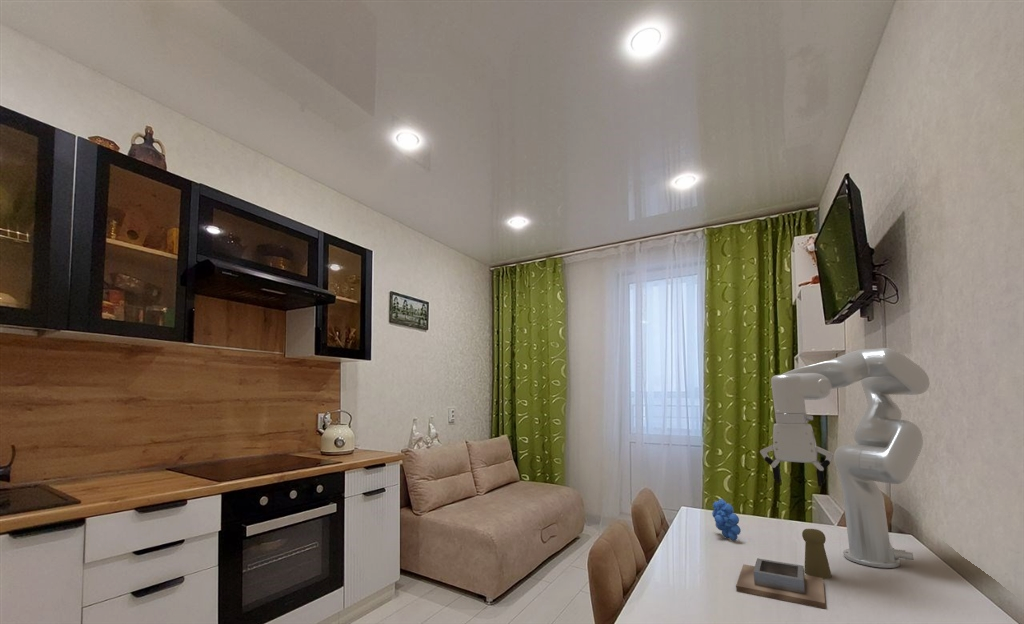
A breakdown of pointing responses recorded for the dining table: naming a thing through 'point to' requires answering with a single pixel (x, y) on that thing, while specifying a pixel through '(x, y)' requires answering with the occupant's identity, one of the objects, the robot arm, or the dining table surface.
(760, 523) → the dining table surface
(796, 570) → the collar
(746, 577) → the collar board
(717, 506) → the grapes
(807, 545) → the cork
